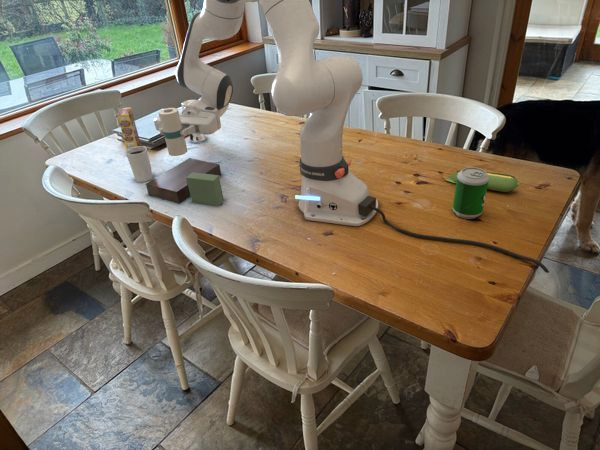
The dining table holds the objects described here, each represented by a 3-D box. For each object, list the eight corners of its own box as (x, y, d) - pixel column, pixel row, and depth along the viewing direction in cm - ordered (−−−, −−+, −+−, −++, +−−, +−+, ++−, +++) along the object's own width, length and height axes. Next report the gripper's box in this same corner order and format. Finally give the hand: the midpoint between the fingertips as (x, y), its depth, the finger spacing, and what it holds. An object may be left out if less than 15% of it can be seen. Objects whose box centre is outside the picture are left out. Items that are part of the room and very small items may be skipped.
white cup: (144, 172, 149) (136, 145, 144) (158, 175, 146) (151, 147, 141) (129, 180, 145) (120, 152, 139) (143, 184, 142) (135, 156, 136)
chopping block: (221, 175, 143) (219, 164, 141) (179, 203, 129) (176, 191, 127) (191, 168, 149) (189, 157, 147) (148, 195, 135) (145, 183, 133)
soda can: (478, 223, 110) (486, 181, 104) (448, 216, 114) (454, 175, 107) (484, 209, 116) (493, 168, 109) (456, 203, 119) (462, 163, 113)
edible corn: (515, 196, 120) (519, 182, 117) (442, 184, 128) (443, 170, 126) (517, 188, 124) (521, 174, 121) (446, 176, 132) (447, 163, 130)
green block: (197, 196, 132) (192, 172, 128) (223, 200, 129) (219, 175, 125) (191, 202, 129) (185, 177, 125) (218, 206, 127) (213, 180, 122)
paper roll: (172, 159, 135) (182, 120, 137) (188, 161, 134) (197, 121, 136) (146, 143, 123) (157, 101, 125) (163, 145, 121) (174, 102, 123)
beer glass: (203, 143, 167) (195, 105, 159) (186, 143, 169) (177, 105, 161) (209, 136, 173) (202, 99, 165) (193, 136, 174) (185, 99, 166)
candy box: (140, 153, 163) (128, 114, 155) (128, 155, 163) (116, 115, 154) (141, 144, 170) (131, 106, 162) (130, 146, 170) (119, 108, 161)
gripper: (166, 105, 141) (140, 120, 130) (222, 109, 134) (199, 125, 124) (171, 124, 144) (145, 140, 134) (225, 128, 138) (203, 145, 127)
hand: (171, 133), depth 129 cm, fingers closed on paper roll, 6 cm apart
